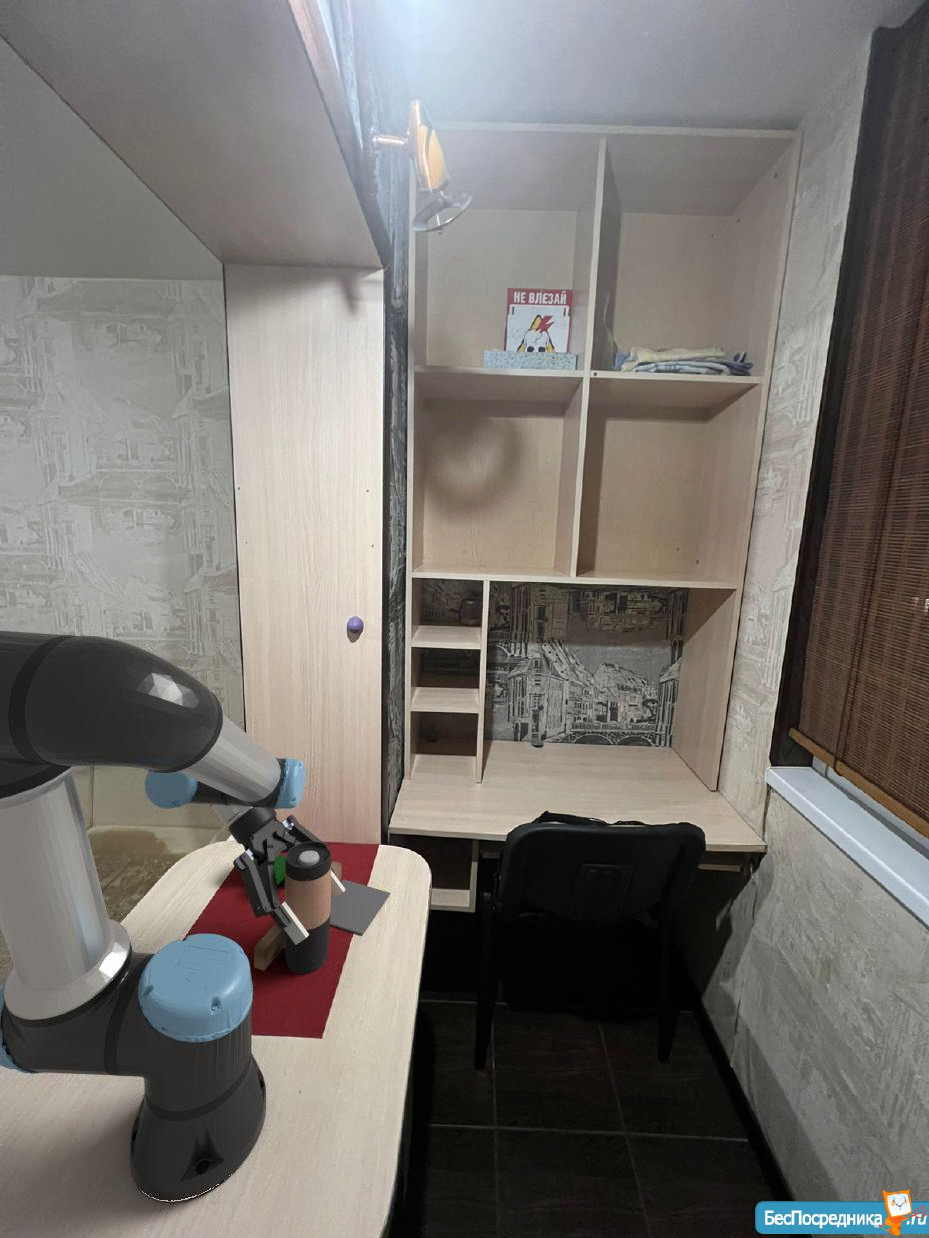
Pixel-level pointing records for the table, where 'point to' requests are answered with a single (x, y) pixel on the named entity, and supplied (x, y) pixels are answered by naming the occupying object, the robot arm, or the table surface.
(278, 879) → the clamp
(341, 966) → the table surface
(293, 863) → the travel mug
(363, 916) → the end mat
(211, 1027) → the robot arm
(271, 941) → the rail
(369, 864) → the table surface
